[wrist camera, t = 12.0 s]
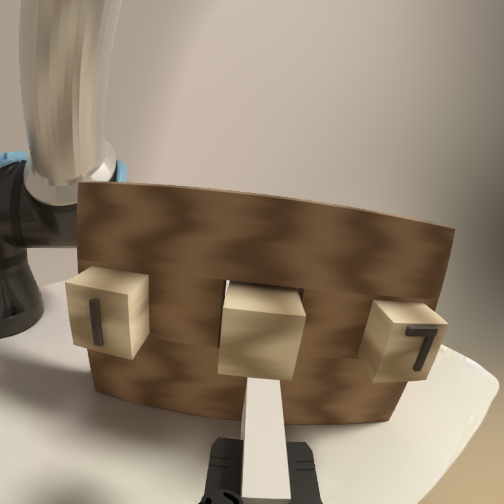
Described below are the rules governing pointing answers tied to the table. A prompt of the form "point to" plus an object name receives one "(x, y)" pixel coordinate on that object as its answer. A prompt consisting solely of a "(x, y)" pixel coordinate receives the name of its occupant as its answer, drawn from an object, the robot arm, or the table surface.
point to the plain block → (260, 331)
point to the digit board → (261, 272)
